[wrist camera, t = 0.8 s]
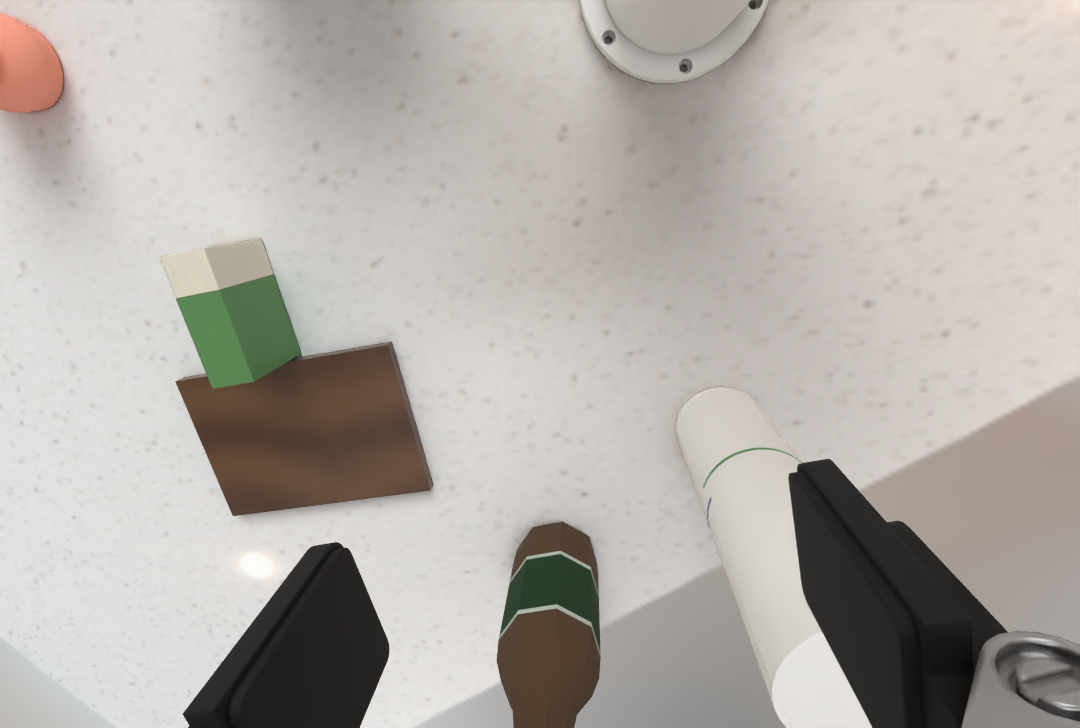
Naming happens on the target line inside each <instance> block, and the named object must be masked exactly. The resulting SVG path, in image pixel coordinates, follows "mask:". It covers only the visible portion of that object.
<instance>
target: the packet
mask: <svg viewBox="0 0 1080 728" xmlns="http://www.w3.org/2000/svg"><path fill="white" fill-rule="evenodd" d="M160 260H161V263H162V265H163V267H164V270H165V272H166V275H167V277H168V280H169V282H170V285H171V287H172V290H173V292H174V294H175V297H176V298H177V299H176V300H177V302H178V305H179V307H180V310H181V312H182V315H183V317H184V320H185V322H186V325H187V327H188V330H189V332H190V334H191V337H192V339H193V342H194V344H195V347H196V349H197V352H198V354H199V357H200V359H201V362H202V364H203V366H204V369H205V371H206V374H207V376H208V379H209V381H210V384H211V386H212V388H213V389H215V388H221V387H227V386H233V385H239V384H245V383H251V382H255V381H256V380H258V379H260V378H262V377H263V376H265V375H267V374H268V373H270V372H272V371H273V370H275V369H277V368H278V367H280V366H282V365H283V364H285V363H287V362H288V361H290V360H292V359H293V358H295V357H297V356H299V355H300V354H301V351H300V348H299V345H298V342H297V339H296V337H295V334H294V331H293V328H292V325H291V322H290V319H289V316H288V313H287V311H286V308H285V305H284V302H283V299H282V296H281V293H280V290H279V287H278V284H277V282H276V279H275V276H274V275H273V271H272V268H271V265H270V262H269V259H268V256H267V253H266V250H265V247H264V245H263V242H262V239H261V238H259V239H253V240H247V241H241V242H235V243H229V244H223V245H217V246H211V247H205V248H200V249H195V250H190V251H185V252H181V253H176V254H171V255H166V256H162V257H160Z"/></svg>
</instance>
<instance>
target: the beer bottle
mask: <svg viewBox="0 0 1080 728" xmlns="http://www.w3.org/2000/svg"><path fill="white" fill-rule="evenodd" d="M497 664H498V669H499V673H500V678H501V682H502V685H503V687H504V690H505V693H506V695H507V698H508V701H509V703H510V706H511V708H512V710H513V722H514V728H574V726H575V721H576V716H577V714H578V713H579V712H580V710H581V709H582V708H583V707H584V705H585V704H586V703H587V702H588V701H589V699H590V698H591V697H592V695H593V692H594V690H595V687H596V685H597V682H598V680H599V672H600V625H599V591H598V571H597V563H596V559H595V556H594V552H593V548H592V545H591V541H590V538H589V537H588V536H587V535H585V534H583V533H582V532H580V531H578V530H576V529H574V528H572V527H571V526H569V525H567V524H565V523H563V522H560V523H554V524H549V525H543V526H538V527H534V528H532V530H531V531H530V532H529V534H528V535H527V537H526V538H525V540H524V541H523V542H522V544H521V545H520V547H519V548H518V550H517V553H516V556H515V560H514V564H513V569H512V574H511V579H510V585H509V590H508V595H507V600H506V605H505V610H504V616H503V621H502V626H501V631H500V636H499V643H498V653H497Z"/></svg>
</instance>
